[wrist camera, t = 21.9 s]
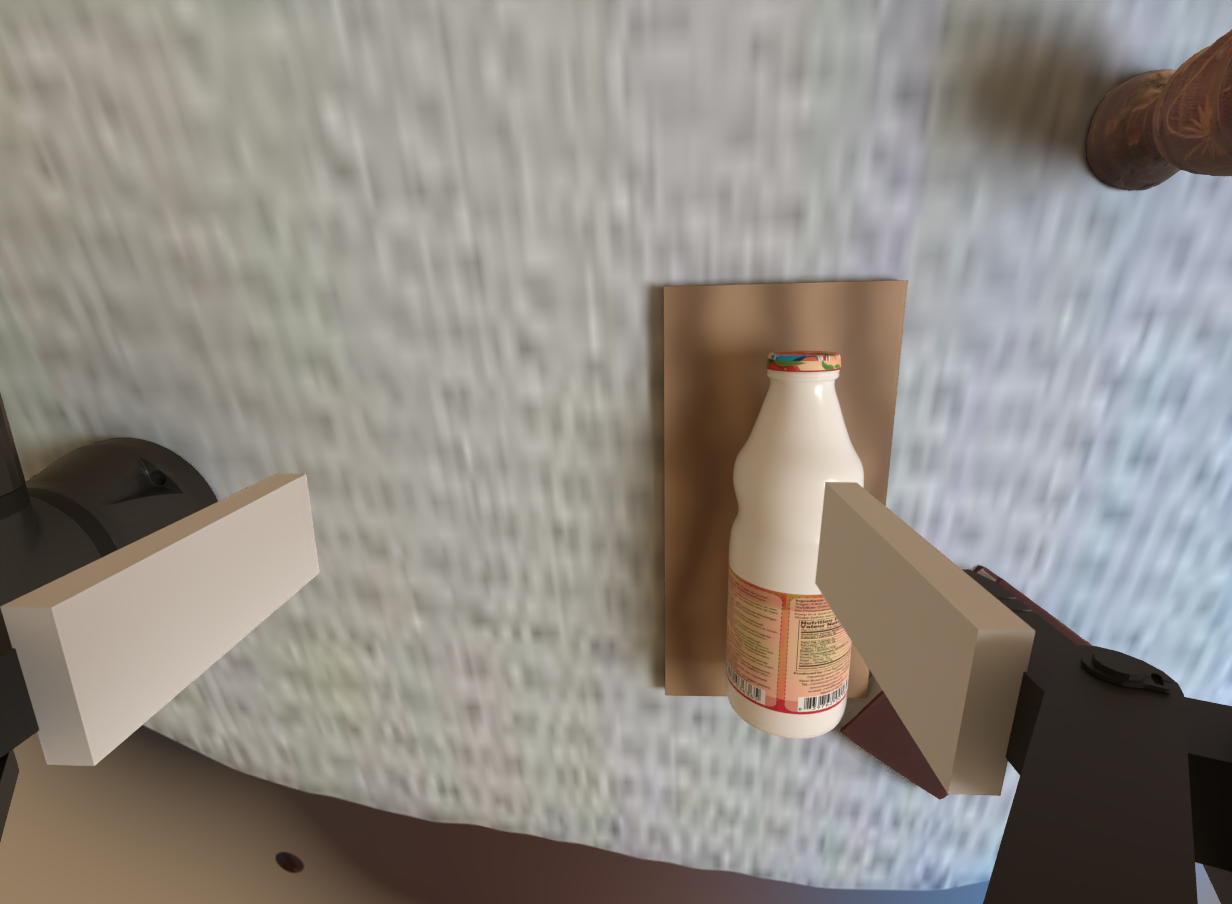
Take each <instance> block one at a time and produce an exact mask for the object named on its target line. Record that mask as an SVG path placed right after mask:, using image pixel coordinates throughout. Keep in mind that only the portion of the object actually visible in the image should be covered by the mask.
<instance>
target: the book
mask: <svg viewBox="0 0 1232 904" xmlns="http://www.w3.org/2000/svg"><path fill="white" fill-rule="evenodd" d="M974 572H976V573H978V574H980V575H982V576H984V577H986V578H989V579H991V580H993V581H995V582H997V583H998V584H1000V585H1001V586H1002V587H1003V588H1005V589H1006V590H1007V591H1009V592H1010V593H1011V594H1012V595H1014V596H1015V597H1016V600H1020V601H1021V602H1023V603H1024V604H1025V605H1026V606H1028V607H1029V608H1030V609H1031V610H1032V613H1037V614H1038V615H1039V616H1040V617H1042V618H1043V619H1044V620H1046V621H1047V622H1048V623H1049V624H1051V625H1052V626H1053V627H1054V628H1056V629H1057V630H1058V631H1060V632H1061V633H1062V634H1063V635H1065V636H1066V637H1067V638H1068V639H1070V640H1071V641H1072V642H1074V643H1075V644H1076V645H1086V646H1092V645H1091V644H1090V643H1088V642H1087V641H1085V640H1084V639H1082V638H1081V637H1080V636H1079V635H1077V634H1076V633H1075V632H1073V631H1072V630H1071V629H1069V628H1068V627H1067V626H1065V625H1064V624H1063V623H1061V622H1060V621H1059V620H1057V619H1056V618H1055V617H1053V616H1052V615H1051V614H1049V613H1048V612H1047V611H1045V610H1044V609H1042V608H1041V607H1039V606H1038V605H1037V604H1035V603H1034V602H1033V601H1031V600H1030V599H1029V598H1027V597H1026V596H1025V595H1024V594H1022V593H1021V592H1019V591H1018V590H1016V589H1015V588H1014V587H1012V586H1011V585H1010V584H1008V583H1007V582H1006V581H1005V580H1003V579H1002V578H1000V577H998V576H997V575H995V574H994V573H993V572H991V571H990V570H988V569H987V568H985V567H983V566H979V567H978V568H977V569H976V570H975V571H974ZM840 723H841V724H842V726H843V727H842V728H841V730H840V731H841V732H842V733H843V734H845V735H846V736H847V737H849V738H850V739H851V740H852V741H854V742H855V743H856V744H858V745H859V746H860V747H862V748H863V749H865V750H866V751H868V752H869V753H870V754H872V755H873V756H875V757H877V758H878V759H880V760H881V761H883V762H884V763H885V764H887V765H888V766H890V767H891V768H893V769H894V770H896V771H897V772H899V773H900V774H902V775H903V776H905V777H906V778H908V779H909V780H911V781H912V782H913V783H915V784H916V785H918V786H919V787H921V788H922V789H924V790H926V791H927V792H929V793H930V794H932V795H933V796H935V797H937V798H938V799H943V798H944V797H946V796H947V795H948V793H947V792H946V790H945V789H944V787H943V785H942V784H941V782H940V781H939V779H938V777H937V776H936V774H935V773H934V771H933V769H932V768H931V766H930V765H929V763H928V762H927V760H926V758H925V757H924V755H923V754H922V752H921V750H920V749H919V747H918V746H917V744H916V742H915V741H914V739H913V738H912V736H911V735H910V733H909V731H908V730H907V728H906V727H905V725H904V723H903V722H902V720H901V719H900V717H899V715H898V714H897V712H896V711H895V709H894V708H893V706H892V704H891V703H890V701H889V700H888V698H887V696H886V695H885V693H884V692H883V690H882V688H881V687H880V685H879V684H878V682H877V681H876V679H875V677H874V676H873V675H872V676H871V677H870V678H869V679H868V688H867V698H848V699H847V701H846V706H845V710H844V714H843V716H842V718H841V720H840Z"/></svg>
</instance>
